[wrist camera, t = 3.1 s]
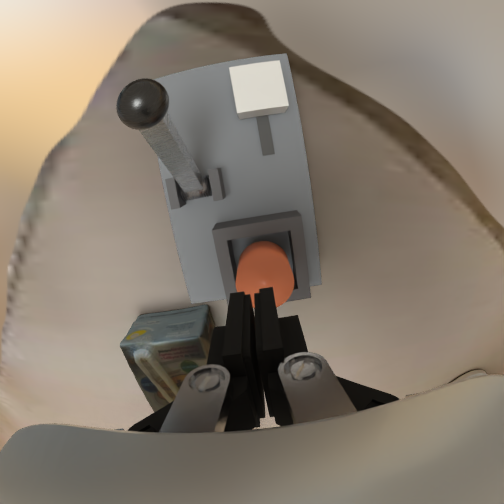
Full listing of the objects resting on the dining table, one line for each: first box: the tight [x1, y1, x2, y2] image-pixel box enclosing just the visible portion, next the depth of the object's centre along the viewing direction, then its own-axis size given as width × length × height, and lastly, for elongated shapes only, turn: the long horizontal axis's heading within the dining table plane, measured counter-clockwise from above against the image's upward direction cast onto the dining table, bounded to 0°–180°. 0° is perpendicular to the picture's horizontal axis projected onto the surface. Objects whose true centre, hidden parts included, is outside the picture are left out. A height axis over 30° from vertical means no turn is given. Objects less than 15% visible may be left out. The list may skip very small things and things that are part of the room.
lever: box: [117, 79, 212, 201], centre depth 14 cm, size 2×2×10 cm
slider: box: [229, 60, 289, 119], centre depth 16 cm, size 3×3×2 cm
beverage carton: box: [120, 305, 215, 412], centre depth 27 cm, size 8×19×7 cm, turn 12°
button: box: [236, 241, 294, 308], centre depth 17 cm, size 3×3×3 cm
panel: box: [154, 54, 322, 305], centre depth 20 cm, size 10×17×6 cm, turn 10°
